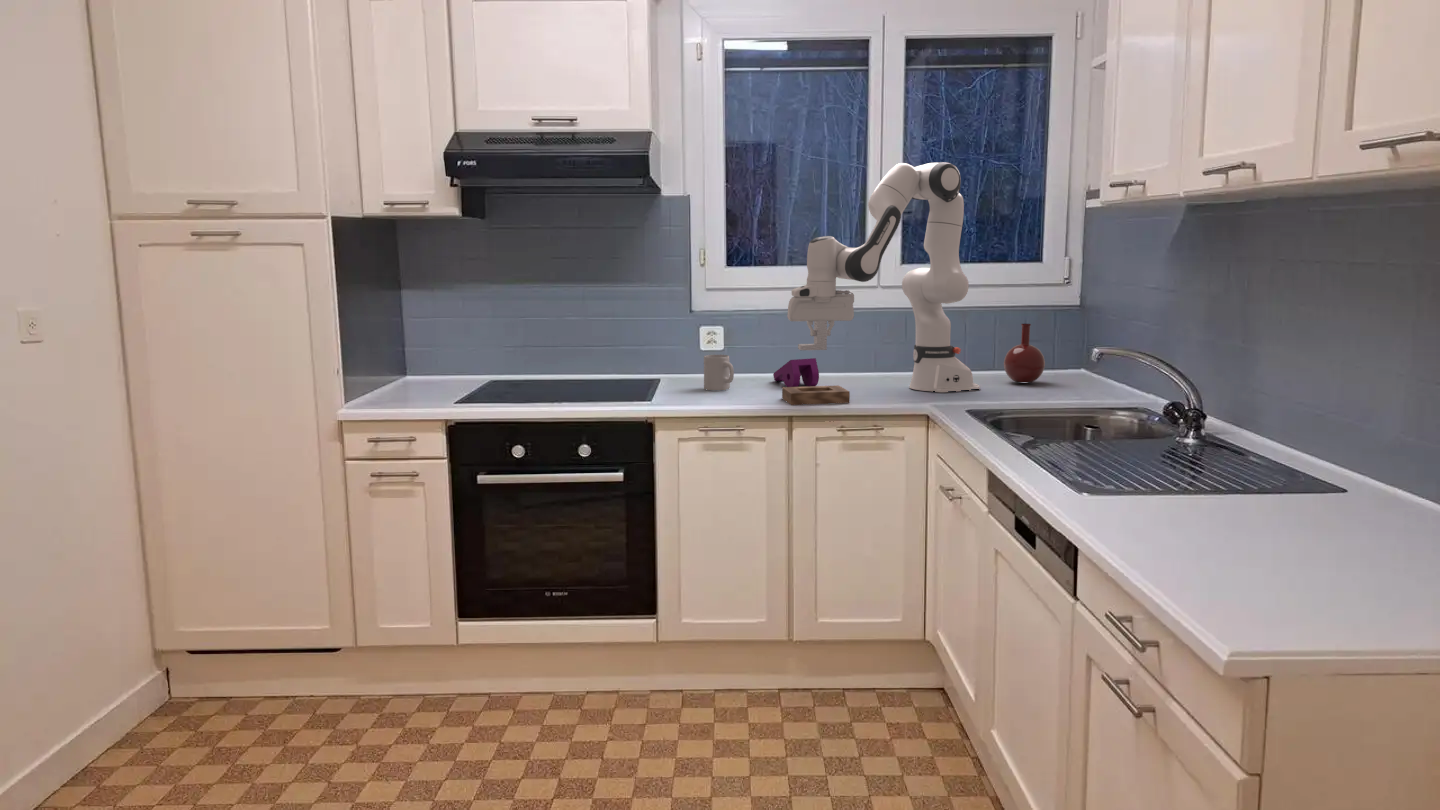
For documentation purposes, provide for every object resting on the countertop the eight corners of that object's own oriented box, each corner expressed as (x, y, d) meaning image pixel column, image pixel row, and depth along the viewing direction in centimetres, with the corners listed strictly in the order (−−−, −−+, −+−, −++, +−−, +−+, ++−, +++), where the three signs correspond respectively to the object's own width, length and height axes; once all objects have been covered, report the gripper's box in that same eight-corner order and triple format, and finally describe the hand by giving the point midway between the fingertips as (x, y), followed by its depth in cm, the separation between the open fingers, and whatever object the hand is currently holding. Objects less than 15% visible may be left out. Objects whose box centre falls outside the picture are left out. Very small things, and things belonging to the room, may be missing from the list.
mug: (698, 389, 324) (698, 356, 322) (717, 386, 330) (717, 353, 328) (723, 393, 316) (723, 359, 314) (742, 390, 321) (742, 356, 319)
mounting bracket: (773, 400, 337) (795, 384, 321) (768, 376, 339) (790, 359, 323) (798, 398, 341) (820, 382, 325) (793, 375, 343) (815, 358, 327)
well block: (838, 396, 308) (838, 385, 307) (849, 402, 296) (849, 391, 295) (782, 398, 305) (782, 387, 304) (791, 405, 293) (791, 393, 292)
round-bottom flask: (1043, 381, 335) (1046, 322, 332) (1044, 387, 323) (1047, 326, 319) (1003, 379, 339) (1005, 321, 335) (1003, 385, 326) (1005, 325, 323)
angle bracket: (823, 348, 304) (823, 319, 302) (826, 349, 300) (827, 320, 299) (798, 348, 303) (798, 319, 301) (800, 350, 299) (801, 320, 297)
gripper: (851, 289, 303) (850, 334, 306) (786, 290, 300) (786, 335, 303) (857, 290, 297) (856, 336, 299) (790, 291, 294) (790, 337, 297)
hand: (820, 335), depth 301 cm, fingers closed on angle bracket, 3 cm apart
